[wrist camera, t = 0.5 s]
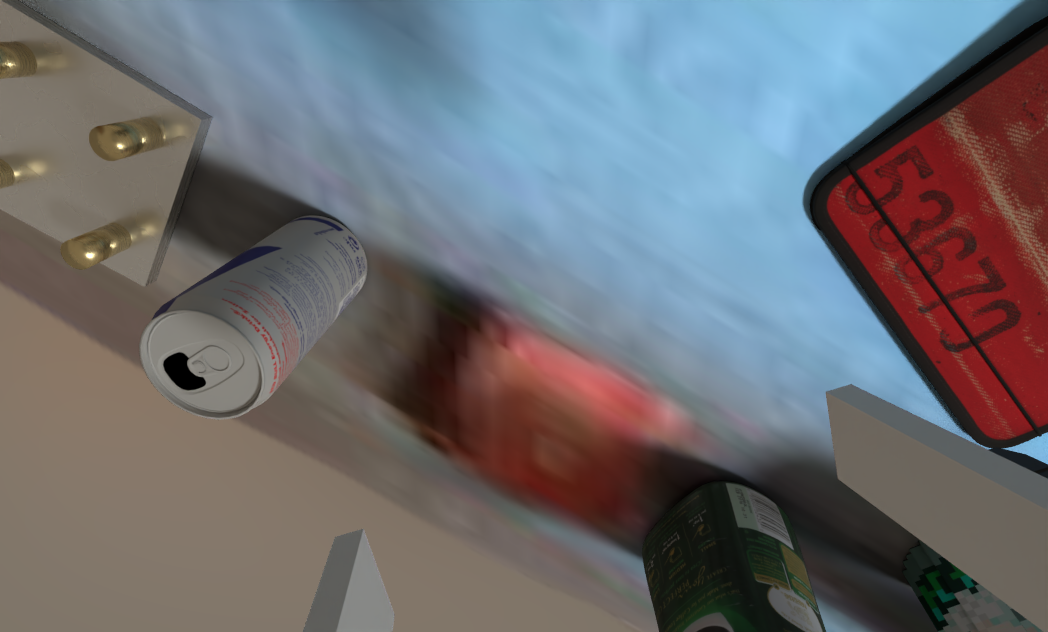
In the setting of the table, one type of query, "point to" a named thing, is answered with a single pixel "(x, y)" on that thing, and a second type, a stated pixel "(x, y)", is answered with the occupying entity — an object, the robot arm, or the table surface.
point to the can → (958, 597)
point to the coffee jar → (728, 565)
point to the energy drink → (252, 319)
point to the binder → (961, 237)
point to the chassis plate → (69, 156)
